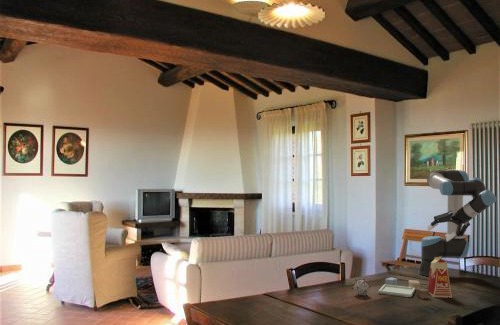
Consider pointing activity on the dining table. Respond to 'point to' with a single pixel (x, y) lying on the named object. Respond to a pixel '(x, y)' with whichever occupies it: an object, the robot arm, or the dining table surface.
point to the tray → (397, 290)
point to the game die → (361, 287)
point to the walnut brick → (422, 293)
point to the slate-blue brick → (391, 281)
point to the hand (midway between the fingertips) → (437, 234)
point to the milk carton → (439, 279)
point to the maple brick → (414, 284)
